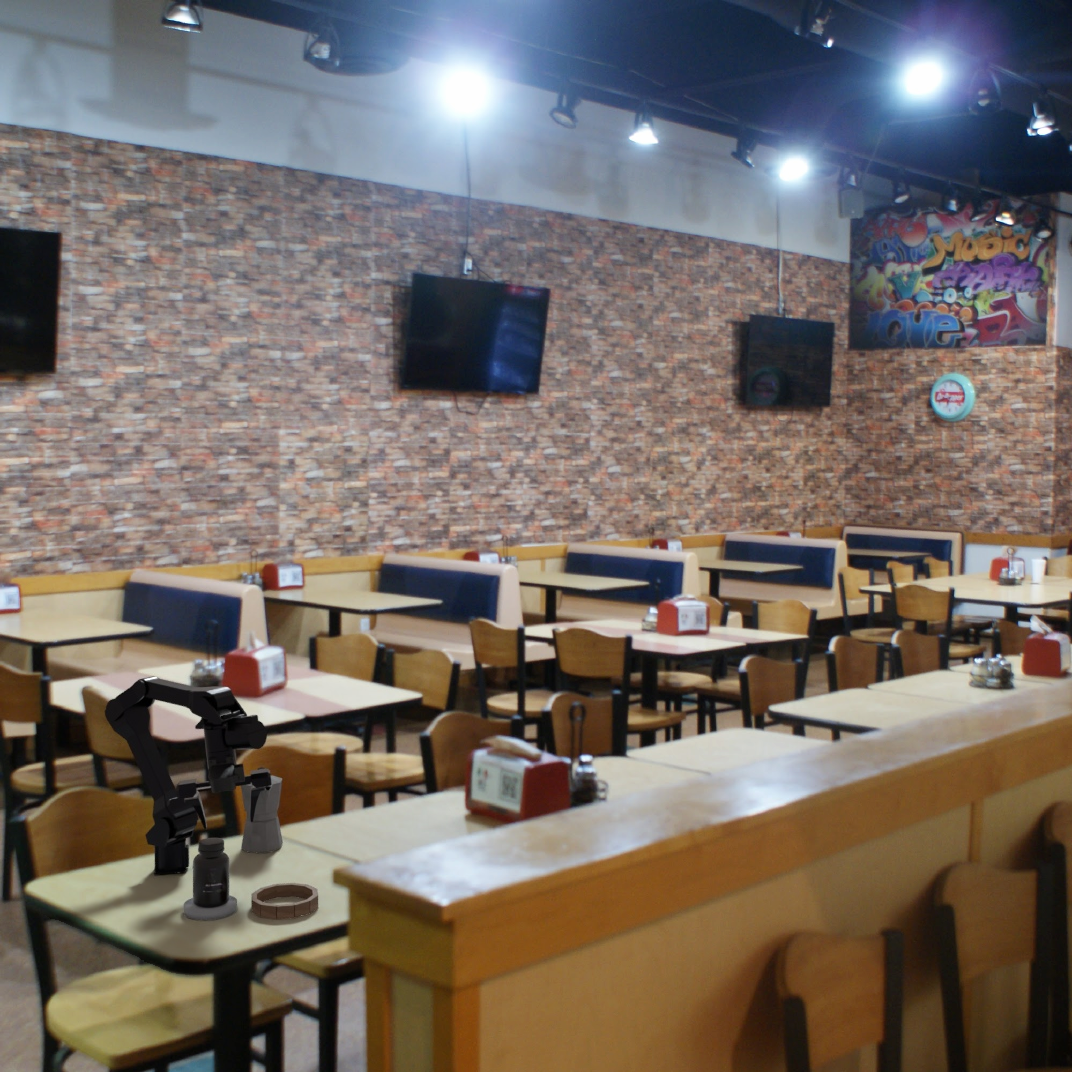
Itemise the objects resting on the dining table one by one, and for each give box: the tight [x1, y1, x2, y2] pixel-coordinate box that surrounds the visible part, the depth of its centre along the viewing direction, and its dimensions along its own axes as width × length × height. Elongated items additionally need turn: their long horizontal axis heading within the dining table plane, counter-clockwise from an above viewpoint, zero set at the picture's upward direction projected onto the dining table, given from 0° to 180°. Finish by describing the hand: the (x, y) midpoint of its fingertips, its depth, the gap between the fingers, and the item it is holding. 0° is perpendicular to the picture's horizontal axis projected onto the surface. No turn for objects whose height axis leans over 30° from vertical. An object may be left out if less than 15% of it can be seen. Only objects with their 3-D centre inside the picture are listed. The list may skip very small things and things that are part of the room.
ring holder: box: [250, 882, 319, 920], centre depth 242 cm, size 13×13×2 cm
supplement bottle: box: [192, 837, 230, 908], centre depth 240 cm, size 7×7×12 cm
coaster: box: [182, 894, 238, 921], centre depth 240 cm, size 10×10×2 cm
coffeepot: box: [240, 766, 284, 854], centre depth 279 cm, size 15×9×18 cm, turn 25°
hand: (228, 825), depth 255 cm, fingers open, 9 cm apart
